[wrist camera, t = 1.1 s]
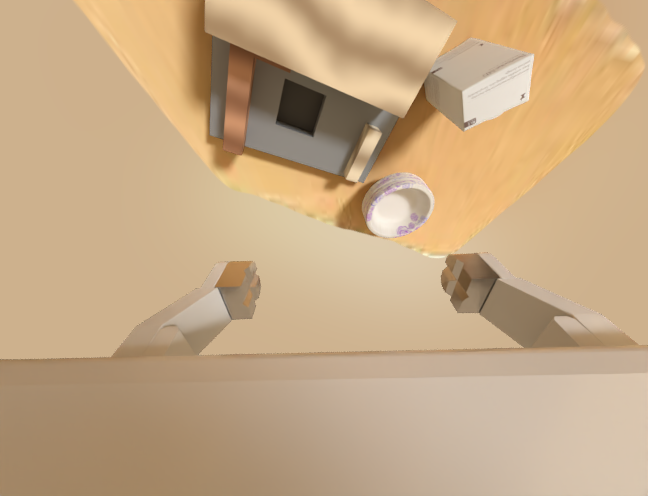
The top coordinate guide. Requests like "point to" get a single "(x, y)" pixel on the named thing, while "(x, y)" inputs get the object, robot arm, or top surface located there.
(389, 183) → the paper bowls
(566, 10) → the top surface
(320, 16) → the shelf
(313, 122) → the board
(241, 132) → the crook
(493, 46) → the skincare box
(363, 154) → the stick
